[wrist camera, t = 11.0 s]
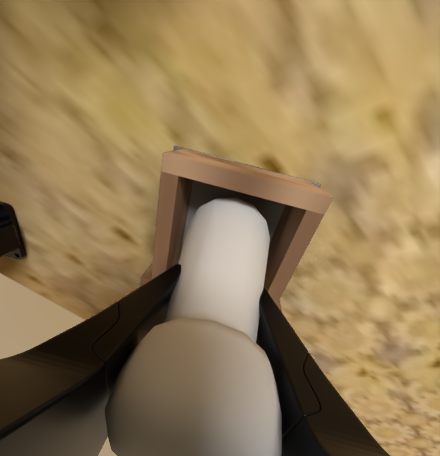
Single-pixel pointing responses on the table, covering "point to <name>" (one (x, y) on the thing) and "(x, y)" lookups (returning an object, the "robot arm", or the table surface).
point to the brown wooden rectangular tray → (245, 190)
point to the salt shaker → (204, 351)
